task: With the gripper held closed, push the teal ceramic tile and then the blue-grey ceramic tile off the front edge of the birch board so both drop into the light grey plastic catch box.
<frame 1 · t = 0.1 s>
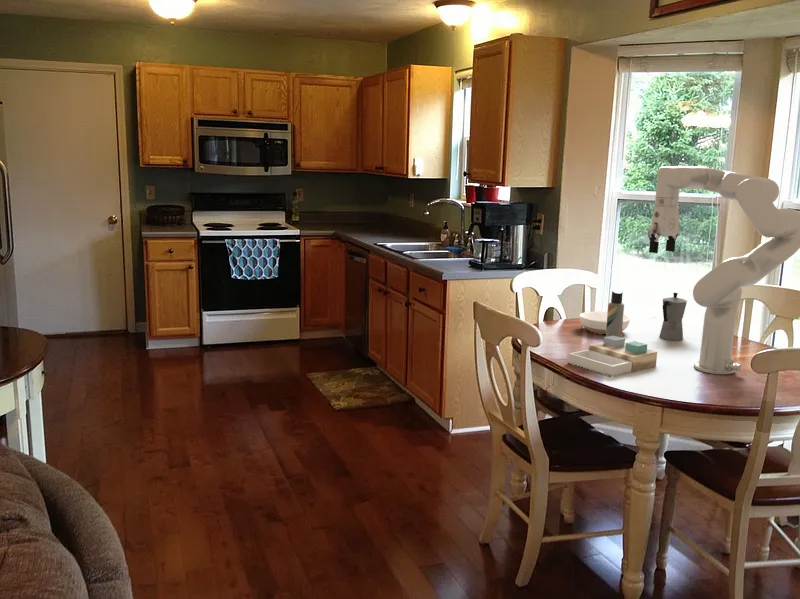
hand: (661, 252, 257), 37 cm above the table, tool pointing down, fingers open, 9 cm apart
teal tile: (635, 350, 247), point 5 cm above the table, touching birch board
catch box: (599, 367, 244), on the table
coffeepot: (669, 338, 287), on the table
bowl: (603, 332, 295), on the table
lotion bottle: (612, 343, 277), on the table
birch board: (621, 362, 251), on the table
slate tile: (613, 345, 254), point 5 cm above the table, touching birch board
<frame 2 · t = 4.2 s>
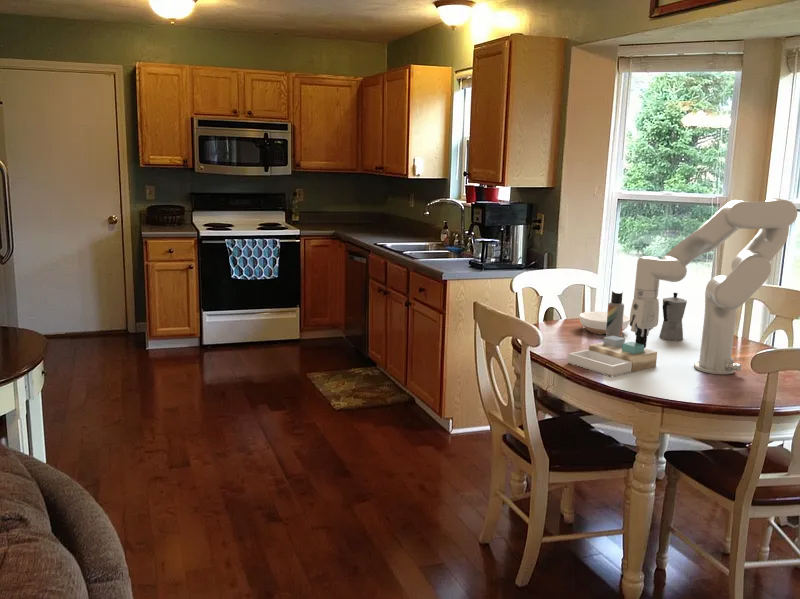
hand: (640, 347, 248), 6 cm above the table, tool pointing down, fingers closed
teal tile: (632, 351, 246), point 5 cm above the table
everything else where it was.
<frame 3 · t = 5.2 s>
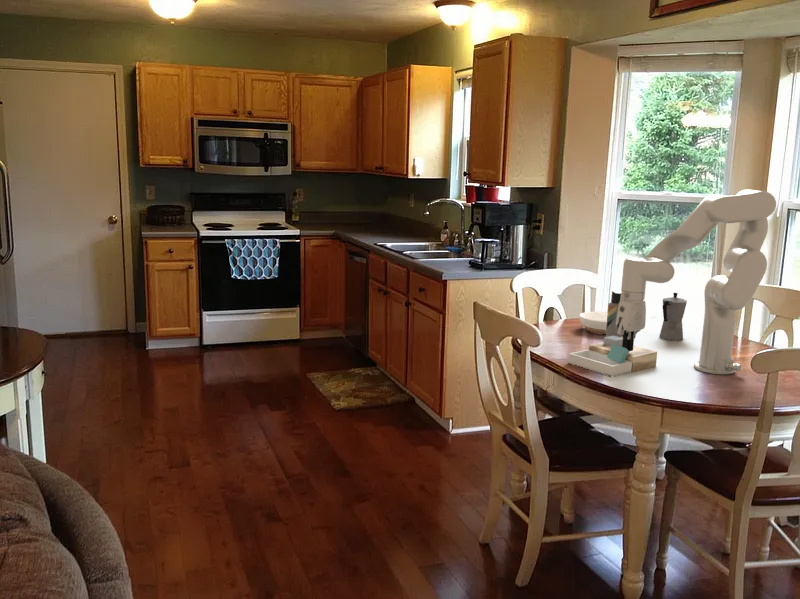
hand: (627, 350, 244), 6 cm above the table, tool pointing down, fingers closed
teal tile: (619, 355, 242), point 4 cm above the table, tilted 57°
everything else where it was.
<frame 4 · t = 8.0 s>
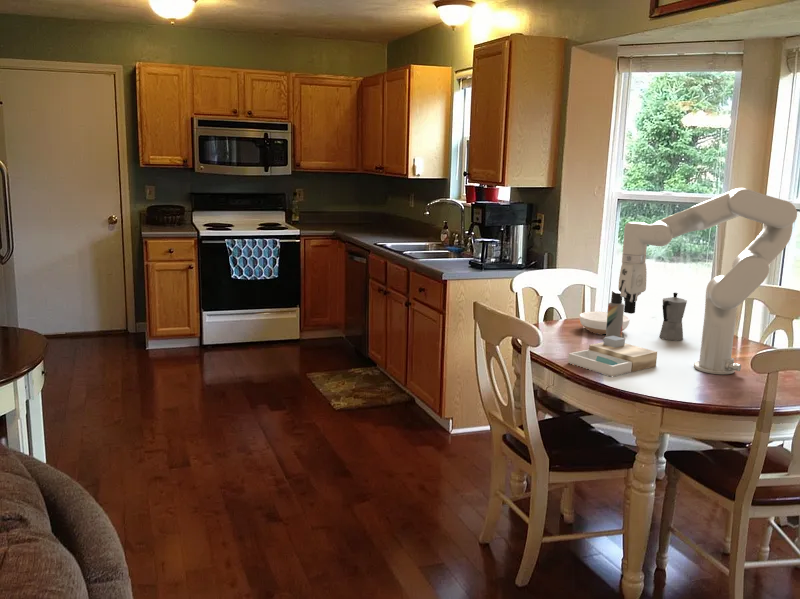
hand: (629, 312, 250), 17 cm above the table, tool pointing down, fingers closed
teal tile: (607, 359, 239), point 4 cm above the table, tilted 156°, touching catch box
everything else where it was.
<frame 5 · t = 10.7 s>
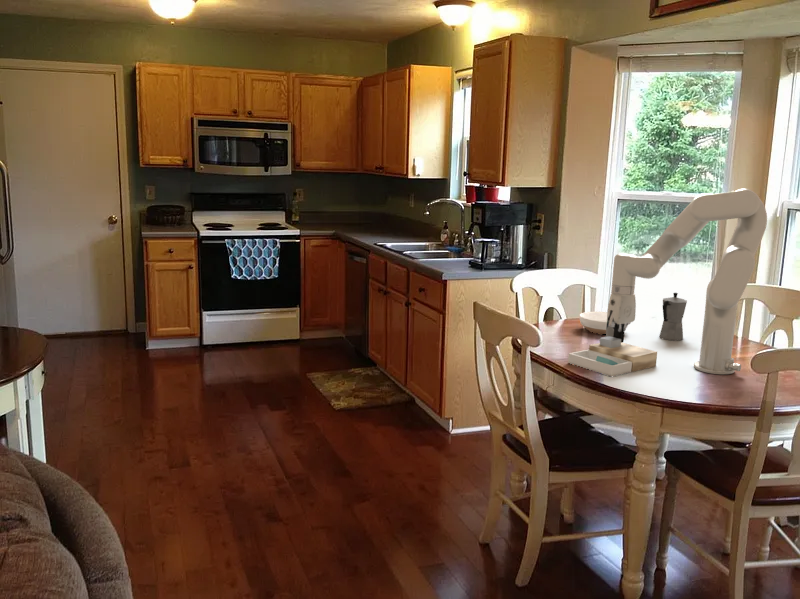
hand: (618, 341, 255), 6 cm above the table, tool pointing down, fingers closed
slate tile: (610, 345, 253), point 5 cm above the table, touching gripper
everything else where it was.
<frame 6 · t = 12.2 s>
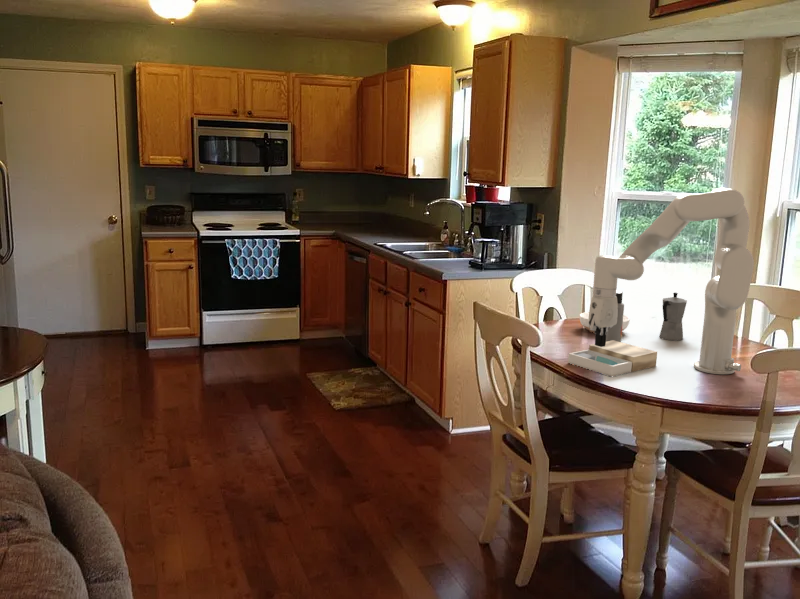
hand: (600, 345, 249), 6 cm above the table, tool pointing down, fingers closed
slate tile: (584, 355, 246), point 3 cm above the table, tilted 180°, touching catch box
everything else where it was.
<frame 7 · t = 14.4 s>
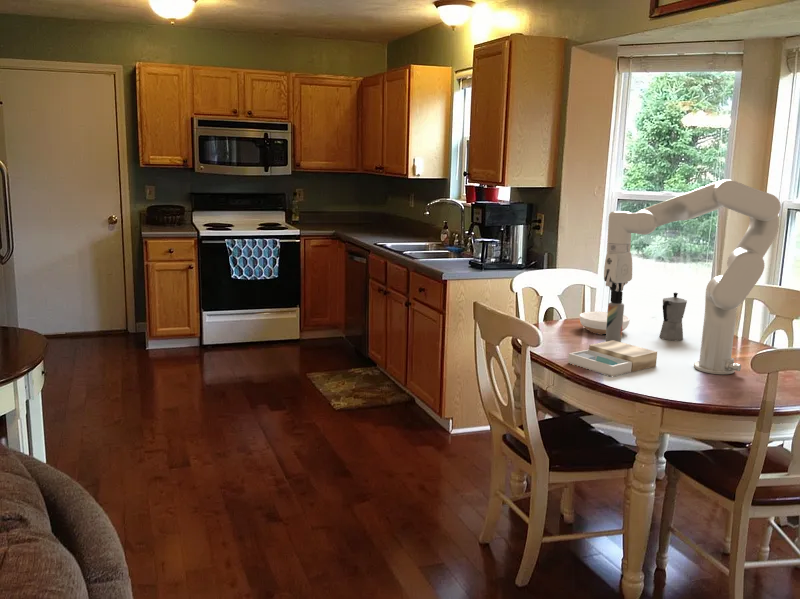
hand: (615, 302, 249), 20 cm above the table, tool pointing down, fingers closed
nothing on the table moved.
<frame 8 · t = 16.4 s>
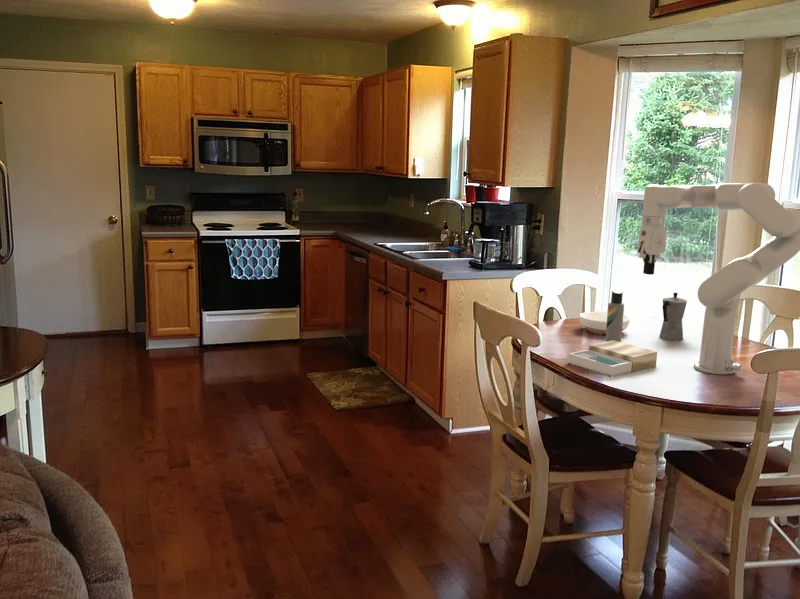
hand: (648, 273, 256), 29 cm above the table, tool pointing down, fingers closed
nothing on the table moved.
at the end: teal tile inside the target area on the catch box (4.0 cm from its centre), point 3.9 cm above the catch box's base; slate tile inside the target area on the catch box (5.4 cm from its centre), point 3.1 cm above the catch box's base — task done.
